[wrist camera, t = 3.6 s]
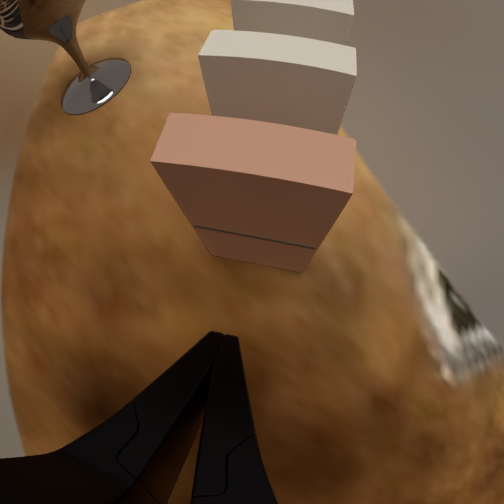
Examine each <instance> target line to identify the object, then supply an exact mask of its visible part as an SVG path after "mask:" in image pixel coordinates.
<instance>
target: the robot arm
mask: <svg viewBox="0 0 504 504" xmlns="http://www.w3.org/2000/svg"><path fill="white" fill-rule="evenodd" d="M133 400H134V401H133ZM133 400H131V401H130V402H129V403H128V404H127V405H125V406H124V407H123V408H122V409H121V410H119V411H118V412H117V413H115V414H114V415H113V416H112V417H110V418H109V419H107V420H106V421H105V422H103V423H102V424H100V425H99V426H97V427H96V428H94V429H92V430H91V431H89V432H88V433H86V434H84V435H83V436H81V437H79V438H78V439H76V440H74V441H73V442H71V443H69V444H68V445H66V446H64V447H63V448H61V449H59V450H56V451H54V452H51V453H47V454H41V455H33V456H25V457H15V458H2V459H0V504H167V502H168V499H169V497H170V495H171V493H172V490H173V488H174V486H175V483H176V481H177V479H178V476H179V474H180V472H181V469H182V467H183V465H184V462H185V460H186V458H187V455H188V453H189V451H190V448H191V446H192V444H193V441H194V439H195V437H196V434H197V432H198V429H199V427H200V425H201V422H202V420H203V425H202V431H201V437H200V443H199V450H198V456H197V463H196V469H195V476H194V483H193V490H192V498H191V503H190V504H278V503H277V501H276V498H275V496H274V493H273V490H272V488H271V485H270V483H269V480H268V477H267V474H266V471H265V468H264V465H263V462H262V458H261V454H260V450H259V446H258V441H257V436H256V434H255V426H254V421H253V416H252V411H251V405H250V400H249V394H248V389H247V384H246V378H245V372H244V367H243V361H242V355H241V350H240V344H239V339H238V337H237V336H233V335H228V334H226V335H224V334H223V333H219V332H214V331H210V332H209V333H208V334H207V335H205V336H204V337H203V338H202V339H201V340H200V341H199V342H198V343H197V344H195V345H194V346H193V347H192V348H191V349H190V350H189V351H188V352H186V353H185V354H184V355H183V356H182V357H181V358H180V359H179V360H177V361H176V362H175V363H174V364H173V365H172V366H171V367H169V368H168V369H167V370H166V371H165V372H164V373H163V374H162V375H160V376H159V377H158V378H157V379H156V380H155V381H153V382H152V383H151V384H150V385H149V386H148V387H147V388H145V389H144V390H143V391H142V392H141V393H140V394H138V395H137V396H136V397H135V398H134V399H133ZM203 417H204V418H203Z"/></svg>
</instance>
